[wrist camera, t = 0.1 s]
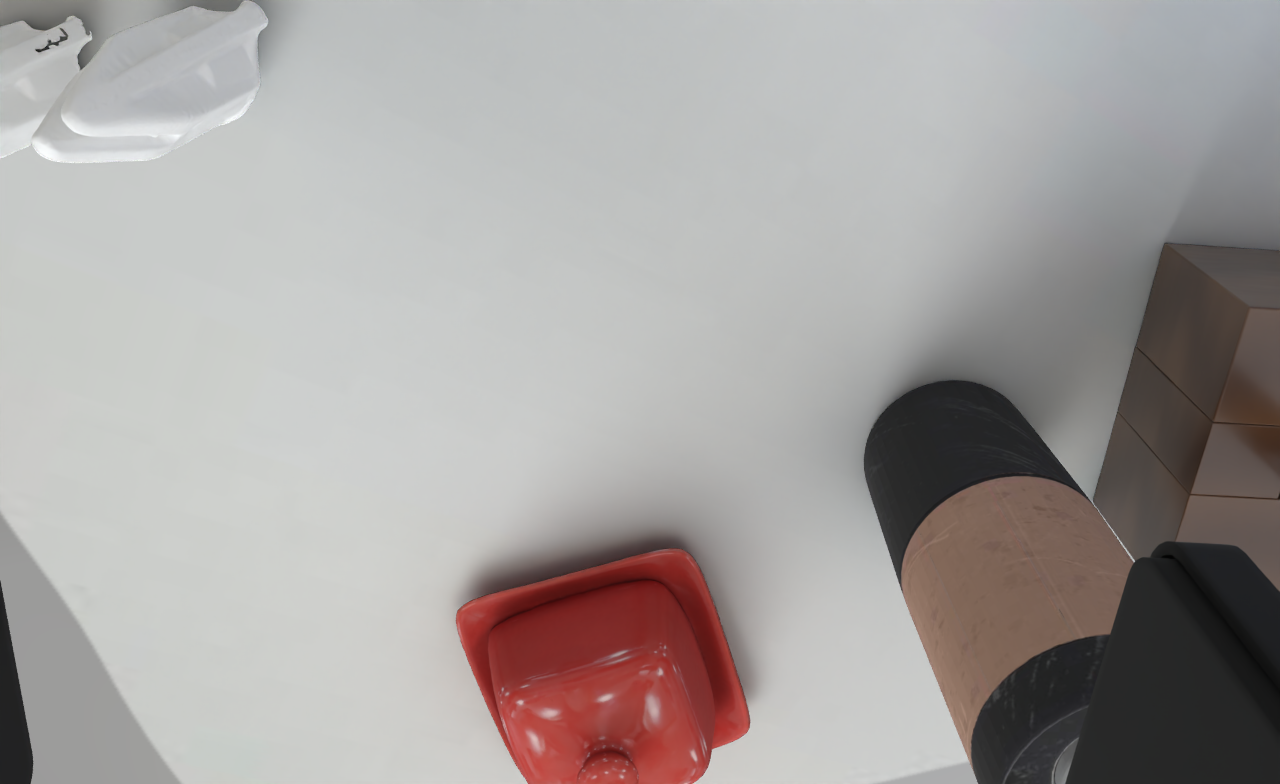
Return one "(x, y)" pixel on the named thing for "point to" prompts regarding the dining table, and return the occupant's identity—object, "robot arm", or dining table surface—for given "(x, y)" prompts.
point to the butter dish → (608, 672)
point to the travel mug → (996, 573)
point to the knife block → (1202, 410)
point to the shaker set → (127, 85)
